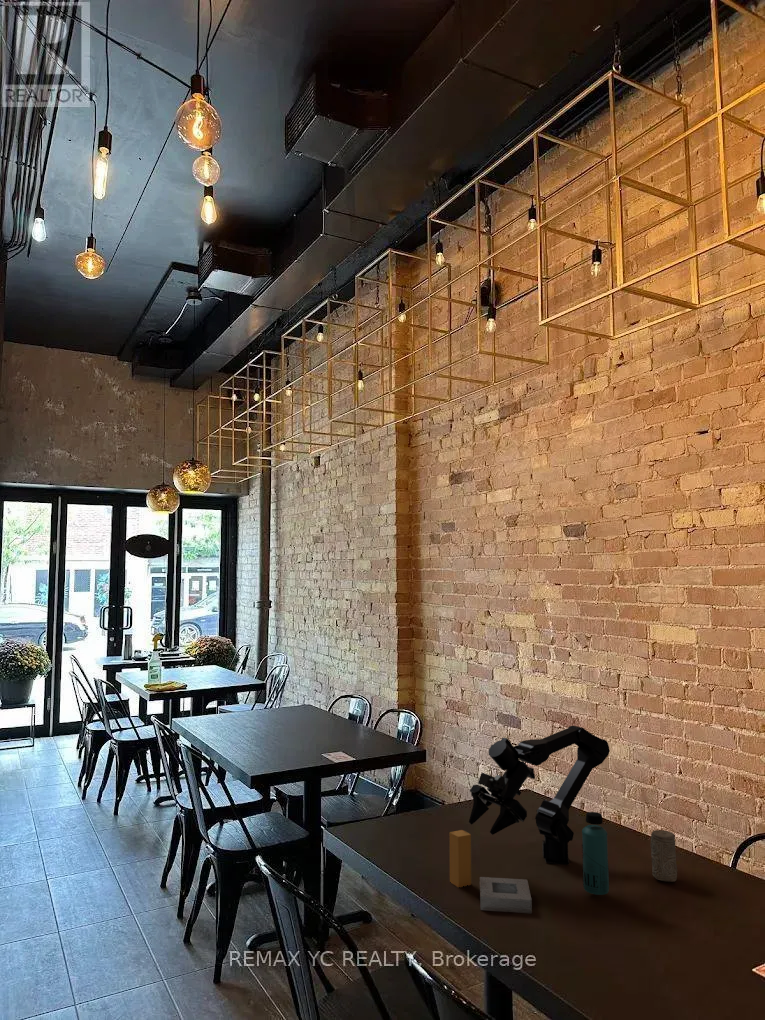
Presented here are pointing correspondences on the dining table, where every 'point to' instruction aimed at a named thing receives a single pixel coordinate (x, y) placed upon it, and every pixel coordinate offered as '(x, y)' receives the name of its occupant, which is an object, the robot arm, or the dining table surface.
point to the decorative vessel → (663, 856)
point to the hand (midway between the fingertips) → (480, 828)
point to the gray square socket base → (505, 895)
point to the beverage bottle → (595, 856)
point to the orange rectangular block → (460, 858)
